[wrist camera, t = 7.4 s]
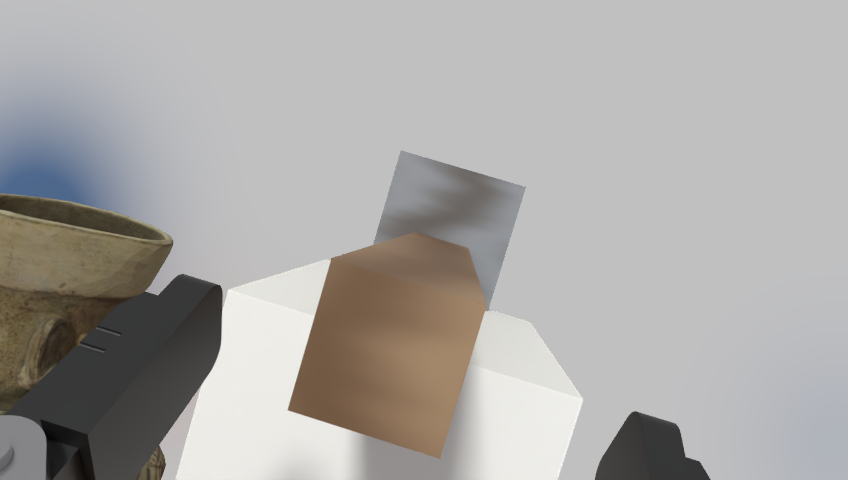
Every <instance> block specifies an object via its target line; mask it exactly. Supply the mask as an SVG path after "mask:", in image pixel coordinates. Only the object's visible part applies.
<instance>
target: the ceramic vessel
mask: <svg viewBox="0 0 848 480" xmlns="http://www.w3.org/2000/svg"><path fill="white" fill-rule="evenodd" d="M172 246H173V240H172V238H171V237H170V236H169V235H168V234H166V233H165V232H163V231H161V230H160V229H158V228H156V227H154V226H152V225H149V224H147V223H144V222H141V221H138V220H136V219H133V218H130V217H128V216H125V215H122V214H120V213H116V212H112V211H107V210H103V209H99V208H95V207H91V206H86V205H82V204H78V203H74V202H70V201H63V200H56V199H49V198H41V197H31V196H22V195H13V194H1V193H0V416H1V415H4V414H5V413H6V412H8V411H9V410H10V409H11V408H12V407H13V406H14V405H15V404H16V403H17V402H18V401H19V400H20V399H22V398H23V397H24V396H25V395H26V394H27V393H28V392H29V391H30V390H31V389H32V388H33V387H34V386H35V385H36V384H37V383H38V382H39V381H40V380H41V379H42V378H43V377H44V376H45V375H46V374H47V373H48V372H49V371H50V370H51V369H52V368H53V367H54V366H55V365H56V364H58V363H59V362H60V361H61V360H62V359H63V358H64V357H65V356H66V355H67V354H68V353H69V352H70V351H71V350H72V349H73V348H74V347H75V346H79V344H80V341H81V340H82V339H83V338H84V337H85V336H86V335H87V334H88V333H89V332H90V331H91V330H92V329H94V330H95V329H96V328H97V325H98V324H99V323H100V322H101V321H102V320H103V319H104V318H105V317H106V316H107V315H108V314H109V313H110V312H111V311H112V310H113V309H114V308H115V307H116V306H117V305H119V304H121V303H123V302H125V301H127V300H129V299H131V298H133V297H135V296H137V295H139V294H141V293H143V292H145V290H146V289H147V288H148V287H149V286H150V285H151V283H152V281H153V280H154V278H155V277H156V275H157V273H158V272H159V270H160V268H161V267H162V265H163V263H164V262H165V260H166V258H167V257H168V255H169V253H170V251H171V248H172ZM165 466H166V463H165V459H164V455H163V453H162V450H161V448H160V446H158V447H157V448H156V450H155V451H154V453H153V454H152V455H151V457H150V458H149V460H148V461H147V463H146V464H145V465H144V467H143V468H142V470H141V471H140V472H139V474H138V475H137V477H136V478H135V480H161V477H162V475H163V472H164V469H165Z"/></svg>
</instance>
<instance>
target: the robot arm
mask: <svg viewBox="0 0 848 480" xmlns="http://www.w3.org/2000/svg"><path fill="white" fill-rule="evenodd" d="M221 335H222V288H221V286H220V285H217V284H214V283H210V282H207V281H204V280H201V279H197V278H194V277H191V276H188V275H184V274H181V275H178V276H177V277H176V278H174V279H173V280H172V281H171V282H170V284H169V285H168V286H167V287H166V288H165V289H164V290H163V291H162V292H161V293H160V294H159V295H158V296H157V295H154V294H151V293H148V292H143V293H141V294H139V295H137V296H135V297H133V298H131V299H129V300H127V301H125V302H123V303H121V304H119V305H117V306H116V307H115V308H114V309H113V310H112V311H111V312H110V313H109V314H108V315H107V316H106V317H105V318H104V319H103V320H102V321H101V322H100V323H99V324H98V325H97V328H96V329H95V330H94V329H92V330H91V331H90V332H89V333H88V334H87V335H86V336H85V337H84V338H83V339H82V340H81V341H80V344H79V346H75V347H74V348H73V349H72V350H71V351H70V352H69V353H68V354H67V355H66V356H65V357H64V358H63V359H62V360H61V361H60V362H59V363H58V364H56V365H55V366H54V367H53V368H52V369H51V370H50V371H49V372H48V373H47V374H46V375H45V376H44V377H43V378H42V379H41V380H40V381H39V382H38V383H37V384H36V385H35V386H34V387H33V388H32V389H31V390H30V391H29V392H28V393H27V394H26V395H25V396H24V397H23V398H22V399H20V400H19V401H18V402H17V403H16V404H15V405H14V406H13V407H12V408H11V409H10V410H9V411H8V412H6V413H5V414H4V415H1V416H0V480H135V478H136V477H137V475H138V474H139V472H140V471H141V470H142V468H143V467H144V465H145V464H146V463H147V461H148V460H149V458H150V457H151V455H152V454H153V453H154V451H155V450H156V448H157V447H158V446H159V444H160V442H161V441H162V440H163V438H164V437H165V436H166V434H167V433H168V431H169V430H170V428H171V427H172V426H173V424H174V423H175V421H176V420H177V419H178V417H179V416H180V414H181V413H182V412H183V410H184V409H185V407H186V406H187V404H188V403H189V402H190V400H191V399H192V397H193V396H194V395H195V393H196V392H197V390H198V389H199V387H200V386H201V385H202V383H203V382H204V380H205V379H206V378H207V376H208V375H209V373H210V372H211V370H212V368H213V366H214V364H215V362H216V360H217V357H218V354H219V351H220V347H221ZM595 480H710V478H709V476H708V475H707V473H706V471H705V470H704V468H703V466H702V465H701V463H700V462H699V461H696V460H693V459H690V458H686V457H685V453H684V447H683V443H682V438H681V433H680V430H679V428H678V426H677V425H676V424H675V423H672V422H669V421H665V420H662V419H658V418H656V417H652V416H649V415H645V414H642V413H639V412H636V411H635V412H632V413H631V414H630V415H629V416H628V418H627V419H626V421H625V422H624V424H623V426H622V427H621V429H620V430H619V432H618V434H617V435H616V437H615V438H614V440H613V441H612V443H611V444H610V446H609V448H608V449H607V451H606V452H605V454H604V455H603V457H602V459H601V461H600V463H599V466H598V469H597V473H596V477H595Z"/></svg>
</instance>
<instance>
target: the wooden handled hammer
mask: <svg viewBox="0 0 848 480" xmlns="http://www.w3.org/2000/svg"><path fill="white" fill-rule="evenodd" d="M525 188H526V187H523V186H520V185H517V184H513V183H510V182H506V181H503V180H499V179H496V178H493V177H489V176H486V175H483V174H479V173H476V172H472V171H469V170H466V169H462V168H459V167H455V166H452V165H449V164H445V163H442V162H438V161H435V160H432V159H428V158H424V157H421V156H418V155H415V154H411V153H408V152H404V151H401V152H400V155H399V159H398V162H397V165H396V169H395V172H394V176H393V179H392V183H391V186H390V189H389V193H388V196H387V200H386V203H385V207H384V210H383V213H382V216H381V220H380V223H379V227H378V230H377V234H376V237H375V240H374V244H373V245H372V246H369V247H366V248H363V249H360V250H356V251H353V252H350V253H347V254H343V255H341V256H337V257H334V258H331V262H330V265H329V269H328V272H327V276H326V279H325V282H324V286H323V289H322V293H321V296H320V300H319V303H318V307H317V310H316V313H315V317H314V320H313V324H312V327H311V331H310V334H309V338H308V341H307V345H306V348H305V351H304V355H303V358H302V362H301V365H300V369H299V372H298V376H297V379H296V382H295V386H294V389H293V393H292V396H291V400H290V403H289V407H288V411H291V412H294V413H297V414H301V415H304V416H307V417H310V418H313V419H316V420H319V421H323V422H326V423H329V424H332V425H335V426H338V427H341V428H345V429H348V430H351V431H354V432H357V433H360V434H363V435H367V436H370V437H373V438H376V439H379V440H382V441H385V442H389V443H392V444H395V445H398V446H401V447H404V448H407V449H411V450H414V451H417V452H420V453H423V454H426V455H429V456H433V457H436V458H439V459H440V457H441V454H442V450H443V447H444V444H445V441H446V437H447V434H448V431H449V427H450V424H451V421H452V418H453V414H454V411H455V408H456V405H457V401H458V398H459V395H460V391H461V388H462V385H463V382H464V378H465V375H466V372H467V369H468V365H469V362H470V359H471V356H472V352H473V349H474V346H475V342H476V339H477V336H478V333H479V329H480V326H481V323H482V320H483V316H484V313H485V311H488V309H489V306H490V302H491V299H492V296H493V293H494V289H495V286H496V283H497V280H498V276H499V273H500V270H501V266H502V263H503V260H504V257H505V253H506V250H507V247H508V243H509V240H510V237H511V234H512V231H513V227H514V224H515V221H516V217H517V214H518V211H519V208H520V204H521V201H522V198H523V195H524V191H525Z"/></svg>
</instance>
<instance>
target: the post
mask: <svg viewBox="0 0 848 480" xmlns="http://www.w3.org/2000/svg"><path fill="white" fill-rule="evenodd" d="M330 262H331V261H329V260H322V261H319V262H316V263H313V264H309V265H306V266H303V267H299V268H296V269H293V270H290V271H287V272H283V273H280V274H277V275H274V276H271V277H267V278H264V279H261V280H257V281H254V282H251V283H248V284H244V285H241V286H238V287H235V288H232V289H229V290H228V293H227V297H226V301H225V304H224V308H223V311H222V335H221V347H220V351H219V354H218V357H217V360H216V362H215V364H214V366H213V368H212V370H211V372H210V373H209V375H208V376H207V378H206V379H205V380H204V382H203V383H202V386H201V389H200V393H199V397H198V400H197V404H196V407H195V411H194V415H193V418H192V421H191V425H190V429H189V432H188V436H187V439H186V443H185V446H184V450H183V454H182V457H181V461H180V464H179V468H178V471H177V475H176V478H175V480H558V477H559V474H560V471H561V468H562V464H563V461H564V458H565V455H566V452H567V449H568V446H569V443H570V439H571V436H572V433H573V430H574V427H575V424H576V420H577V417H578V414H579V411H580V408H581V405H582V402H583V398H582V397H581V395H580V394H579V392H578V391H577V389H576V388H575V386H574V385H573V384H572V382H571V381H570V379H569V378H568V376H567V375H566V373H565V372H564V371H563V369H562V368H561V366H560V365H559V363H558V362H557V360H556V359H555V358H554V356H553V355H552V353H551V352H550V350H549V349H548V347H547V346H546V344H545V343H544V341H543V340H542V339H541V337H540V336H539V334H538V333H537V331H536V330H535V328H534V327H533V325H532V324H531V323H530V322H529V321H525V320H522V319H519V318H516V317H512V316H509V315H506V314H502V313H499V312H496V311H493V310H489V309H488V311H485V313H484V316H483V320H482V323H481V326H480V329H479V333H478V336H477V339H476V342H475V346H474V349H473V352H472V356H471V359H470V362H469V365H468V369H467V372H466V375H465V378H464V382H463V385H462V388H461V391H460V395H459V398H458V401H457V405H456V408H455V411H454V414H453V418H452V421H451V424H450V427H449V431H448V434H447V437H446V441H445V444H444V447H443V450H442V454H441V457H440V459H439V458H436V457H433V456H429V455H426V454H423V453H420V452H417V451H414V450H411V449H407V448H404V447H401V446H398V445H395V444H392V443H389V442H385V441H382V440H379V439H376V438H373V437H370V436H367V435H363V434H360V433H357V432H354V431H351V430H348V429H345V428H341V427H338V426H335V425H332V424H329V423H326V422H323V421H319V420H316V419H313V418H310V417H307V416H304V415H301V414H297V413H294V412H291V411H288V407H289V403H290V400H291V396H292V393H293V389H294V386H295V382H296V379H297V376H298V372H299V369H300V365H301V362H302V358H303V355H304V351H305V348H306V345H307V341H308V338H309V334H310V331H311V327H312V324H313V320H314V317H315V313H316V310H317V307H318V303H319V300H320V296H321V293H322V289H323V286H324V282H325V279H326V276H327V272H328V269H329V265H330Z"/></svg>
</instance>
